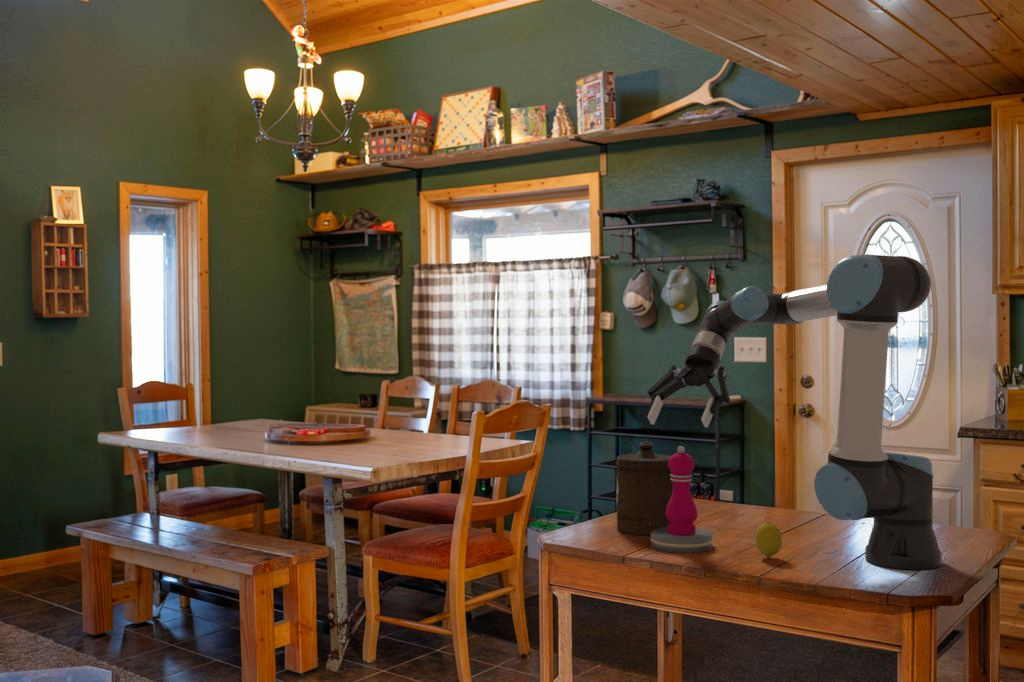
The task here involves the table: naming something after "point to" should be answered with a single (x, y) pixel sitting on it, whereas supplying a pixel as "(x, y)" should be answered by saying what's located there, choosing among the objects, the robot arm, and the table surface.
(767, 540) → the lemon
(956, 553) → the table surface
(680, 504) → the pepper mill
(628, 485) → the wooden container
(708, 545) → the grey flat disc
